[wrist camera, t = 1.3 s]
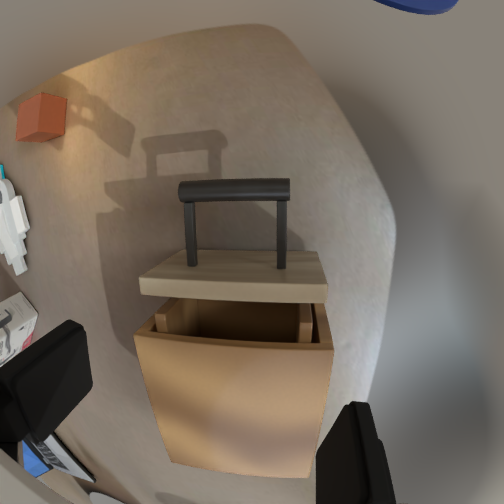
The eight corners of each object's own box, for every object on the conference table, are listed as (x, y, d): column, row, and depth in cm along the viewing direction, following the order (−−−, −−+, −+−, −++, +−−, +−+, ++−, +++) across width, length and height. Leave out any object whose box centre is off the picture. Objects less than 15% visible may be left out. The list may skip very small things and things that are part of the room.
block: (67, 98, 23) (41, 91, 19) (64, 134, 24) (37, 131, 20) (44, 108, 24) (18, 104, 20) (41, 142, 25) (15, 141, 21)
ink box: (31, 346, 33) (-16, 381, 22) (14, 323, 33) (-35, 354, 21) (40, 314, 31) (-19, 351, 19) (21, 289, 30) (-38, 319, 19)
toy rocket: (44, 260, 28) (32, 265, 26) (13, 279, 30) (3, 283, 28) (16, 147, 26) (4, 147, 23) (-12, 180, 28) (-23, 181, 25)
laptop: (99, 479, 42) (67, 529, 24) (38, 457, 49) (10, 490, 31) (19, 381, 37) (-35, 428, 19) (-20, 378, 44) (-58, 408, 26)
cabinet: (182, 285, 26) (132, 334, 17) (321, 290, 24) (334, 349, 15) (198, 401, 30) (170, 462, 20) (308, 410, 28) (308, 478, 19)
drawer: (178, 182, 23) (130, 184, 16) (318, 180, 22) (331, 177, 14) (195, 375, 28) (169, 427, 20) (307, 383, 26) (308, 441, 18)
